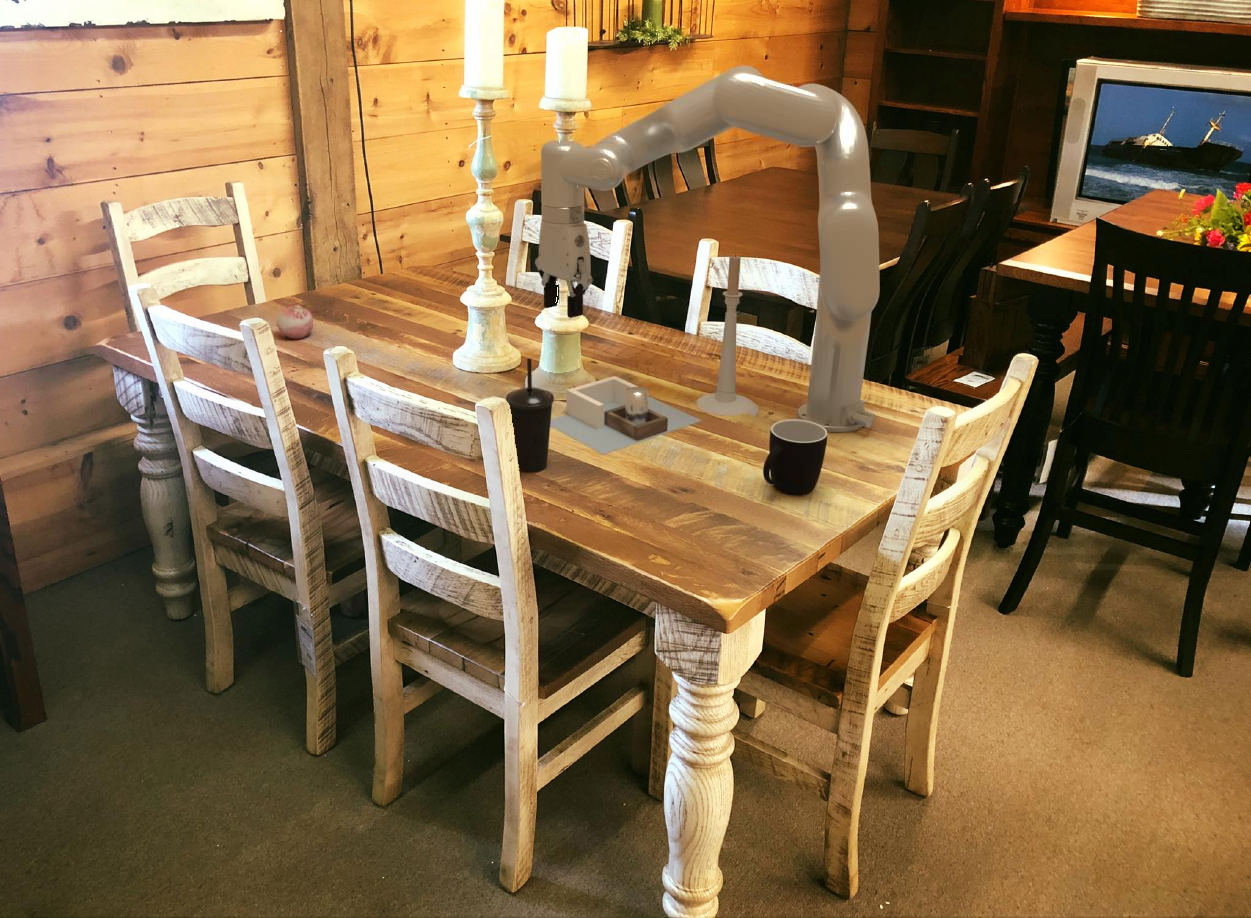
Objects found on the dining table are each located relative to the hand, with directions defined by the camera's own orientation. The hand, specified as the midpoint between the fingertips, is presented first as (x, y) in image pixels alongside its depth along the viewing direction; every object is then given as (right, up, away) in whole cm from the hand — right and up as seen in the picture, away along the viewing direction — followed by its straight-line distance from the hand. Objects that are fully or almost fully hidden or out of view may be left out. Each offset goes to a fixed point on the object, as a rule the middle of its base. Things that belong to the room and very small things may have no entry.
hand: (563, 310), depth 194 cm
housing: (+7, -18, -1) cm, 20 cm away
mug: (+38, -33, -24) cm, 55 cm away
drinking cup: (-4, -30, -21) cm, 37 cm away
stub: (+13, -22, -7) cm, 26 cm away
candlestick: (+30, -19, +4) cm, 36 cm away
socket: (+13, -22, -7) cm, 26 cm away
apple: (-61, -1, +37) cm, 71 cm away
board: (+11, -22, -4) cm, 25 cm away
